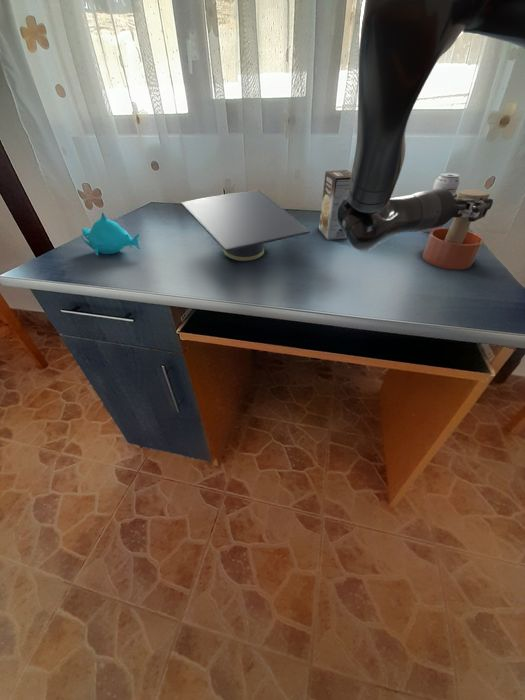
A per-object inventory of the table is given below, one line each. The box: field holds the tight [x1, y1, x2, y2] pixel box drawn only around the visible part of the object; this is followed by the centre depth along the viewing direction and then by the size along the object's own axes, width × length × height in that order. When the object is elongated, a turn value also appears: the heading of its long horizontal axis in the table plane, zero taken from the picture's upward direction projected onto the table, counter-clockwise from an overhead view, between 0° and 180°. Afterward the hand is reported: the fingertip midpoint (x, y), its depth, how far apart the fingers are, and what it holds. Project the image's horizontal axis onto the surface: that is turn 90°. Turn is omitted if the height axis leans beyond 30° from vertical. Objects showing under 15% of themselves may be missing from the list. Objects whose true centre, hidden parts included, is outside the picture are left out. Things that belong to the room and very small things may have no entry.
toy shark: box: [81, 211, 141, 256], centre depth 76 cm, size 10×18×11 cm, turn 72°
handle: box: [444, 189, 491, 244], centre depth 70 cm, size 5×6×15 cm
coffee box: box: [318, 169, 352, 240], centre depth 84 cm, size 9×6×16 cm
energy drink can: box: [422, 172, 460, 234], centre depth 86 cm, size 6×6×15 cm
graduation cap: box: [180, 190, 311, 262], centre depth 77 cm, size 28×23×10 cm
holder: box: [421, 227, 484, 270], centre depth 73 cm, size 11×11×6 cm
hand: (477, 200), depth 67 cm, fingers closed on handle, 5 cm apart
